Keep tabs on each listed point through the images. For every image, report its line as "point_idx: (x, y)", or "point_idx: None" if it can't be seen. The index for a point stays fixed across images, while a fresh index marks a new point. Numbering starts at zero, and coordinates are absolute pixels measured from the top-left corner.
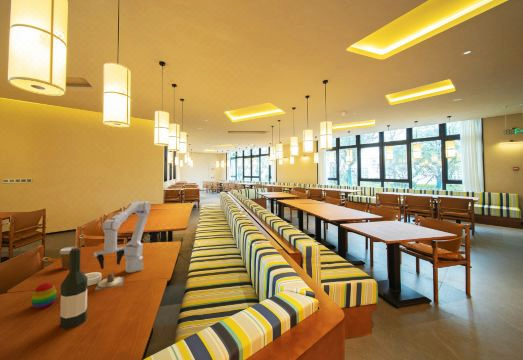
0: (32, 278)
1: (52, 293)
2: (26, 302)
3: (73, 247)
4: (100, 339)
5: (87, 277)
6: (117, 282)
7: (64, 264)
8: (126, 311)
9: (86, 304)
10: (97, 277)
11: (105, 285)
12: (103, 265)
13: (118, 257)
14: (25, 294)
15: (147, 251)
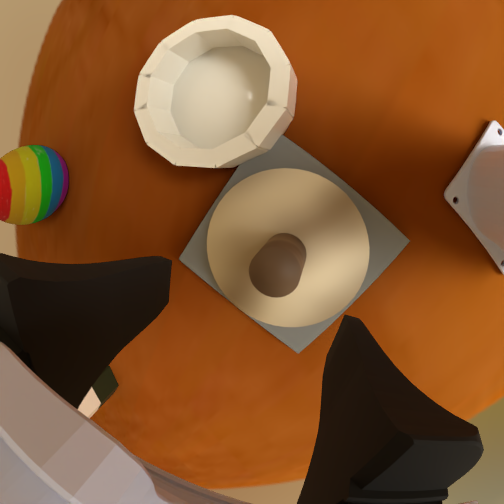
0: None
1: (27, 221)
2: (45, 105)
3: None
4: (129, 444)
5: (226, 40)
6: (294, 319)
7: None
8: (195, 451)
9: (92, 413)
10: (219, 166)
11: (227, 286)
12: (141, 329)
13: (329, 426)
14: (69, 29)
15: None
